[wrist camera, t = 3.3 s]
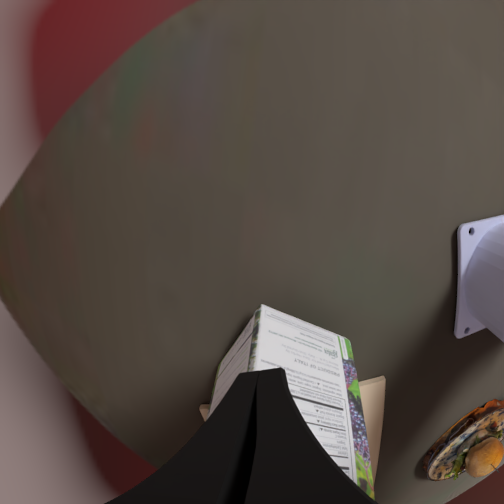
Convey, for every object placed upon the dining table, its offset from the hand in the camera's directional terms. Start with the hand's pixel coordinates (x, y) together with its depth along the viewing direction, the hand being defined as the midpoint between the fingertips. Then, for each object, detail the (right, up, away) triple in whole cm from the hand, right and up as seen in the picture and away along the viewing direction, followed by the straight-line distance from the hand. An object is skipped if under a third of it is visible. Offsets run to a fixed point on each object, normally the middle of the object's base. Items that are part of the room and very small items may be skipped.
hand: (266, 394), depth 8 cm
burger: (+23, -16, +11) cm, 30 cm away
